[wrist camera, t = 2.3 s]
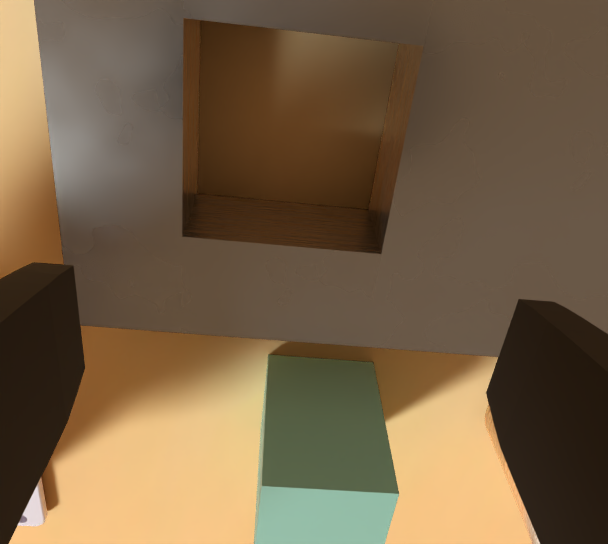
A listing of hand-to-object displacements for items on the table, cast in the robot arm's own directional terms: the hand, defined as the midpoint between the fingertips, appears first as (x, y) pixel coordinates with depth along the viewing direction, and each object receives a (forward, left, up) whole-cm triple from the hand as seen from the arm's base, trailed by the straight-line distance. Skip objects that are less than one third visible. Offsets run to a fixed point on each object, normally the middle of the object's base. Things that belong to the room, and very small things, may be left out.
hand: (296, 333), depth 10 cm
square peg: (+2, -10, -9) cm, 14 cm away
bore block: (+3, +1, -9) cm, 10 cm away
